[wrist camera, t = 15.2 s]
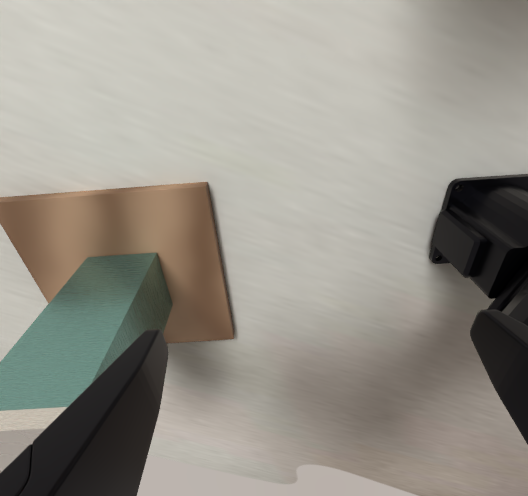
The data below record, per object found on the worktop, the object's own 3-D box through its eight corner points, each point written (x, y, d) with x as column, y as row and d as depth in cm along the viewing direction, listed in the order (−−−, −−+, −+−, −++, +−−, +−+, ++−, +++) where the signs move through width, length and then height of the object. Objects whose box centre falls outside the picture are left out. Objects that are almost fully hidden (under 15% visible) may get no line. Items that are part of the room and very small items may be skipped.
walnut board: (208, 178, 20) (205, 186, 19) (234, 326, 28) (233, 338, 26) (4, 194, 21) (-12, 203, 19) (84, 335, 28) (76, 349, 27)
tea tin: (157, 251, 21) (70, 427, 11) (174, 305, 24) (116, 484, 14) (85, 256, 22) (-65, 434, 12) (110, 309, 24) (7, 490, 14)
